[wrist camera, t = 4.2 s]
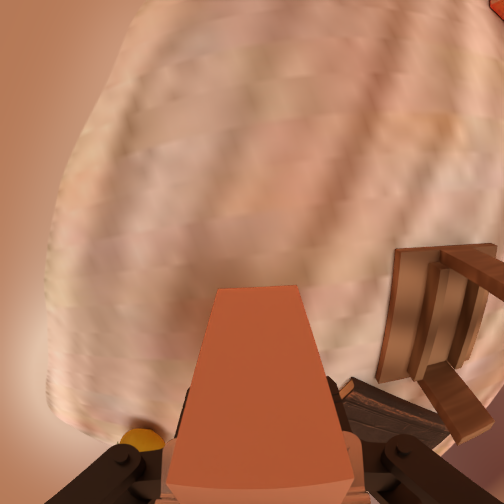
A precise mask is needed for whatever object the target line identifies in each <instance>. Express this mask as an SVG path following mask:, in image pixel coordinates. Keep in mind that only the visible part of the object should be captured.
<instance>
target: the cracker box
mask: <svg viewBox="0 0 504 504" xmlns="http://www.w3.org/2000/svg"><path fill="white" fill-rule="evenodd" d="M490 7H491V8H492V9H493V10H494V11H495V12H496V13H497V14H498V15H499V16H500V17H501V18H502V19H503V20H504V0H490Z"/></svg>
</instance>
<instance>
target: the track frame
mask: <svg viewBox="0 0 504 504" xmlns="http://www.w3.org/2000/svg"><path fill="white" fill-rule="evenodd" d="M496 252H497V245H495V244H492V243H484V244H469V245H452V246H436V247H420V248H403V249H395V261H394V272H393V281H392V289H391V297H390V304H389V311H388V317H387V323H386V329H385V335H384V340H383V345H382V350H381V355H380V359H379V364H378V368H377V373H376V377H375V378H376V380H377V382H378V384H380V383H385V382H390V381H394V380H399V379H403V378H407V377H411V378H412V380H413V381H414V382H415V381H417V382H418V384H419V385H420V387H421V388H422V390H423V391H424V393H425V394H426V396H427V397H428V399H429V400H430V402H431V404H432V405H433V407H434V408H435V410H436V411H437V413H438V415H439V416H440V418H441V419H442V421H443V423H444V424H445V426H446V427H447V429H448V431H449V432H450V434H451V436H452V437H453V439H454V441H455V442H456V444H457V446H458V445H460V444H462V443H464V442H466V441H468V440H470V439H472V438H474V437H476V436H478V435H480V434H482V433H484V432H485V431H487V430H489V429H490V428H491V427H492V425H493V424H494V422H495V421H494V419H493V418H492V417H491V416H490V414H489V413H488V411H487V410H486V409H485V408H484V406H483V405H482V404H481V402H480V401H479V400H478V399H477V397H476V396H475V395H474V394H473V392H472V391H471V390H470V389H469V387H468V386H467V385H466V384H465V382H464V381H463V380H462V379H461V378H460V376H459V375H458V374H457V373H456V372H455V370H454V369H458V368H461V367H462V365H463V362H464V361H466V360H469V358H470V355H471V352H472V349H473V346H474V344H475V341H476V338H477V334H478V331H479V328H480V325H481V321H482V318H483V314H484V310H485V307H486V303H487V299H488V294H489V292H490V293H491V294H493V295H494V296H496V297H497V298H499V299H500V300H502V301H503V302H504V262H502V261H500V260H498V259H495V258H496ZM451 366H452V367H453V368H454V369H453V368H452V367H451Z"/></svg>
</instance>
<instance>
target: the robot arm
mask: <svg viewBox="0 0 504 504" xmlns="http://www.w3.org/2000/svg"><path fill="white" fill-rule="evenodd" d="M326 378H327V382H328V385H329V388H330V392H331V395H332V398H333V402H334V405H335V409H336V412H337V416H338V419H339V423H340V426H341V430H342V433H343V437H344V440H345V444H346V448H347V451H348V455H349V459H350V462H351V466H352V470H353V474H354V478H355V479H354V480H353V482H352V484H351V486H350V488H349V490H348V492H347V494H346V496H345V497H344V499H343V501H342V503H341V504H371V501H370V495H369V493H370V494H371V495H372V496H373V497H374V498H375V499H376V500H377V501H378V502H379V503H380V504H504V503H502V502H501V501H499V500H498V499H497V498H495V497H494V496H492V495H491V494H490V493H488V492H487V491H485V490H484V489H483V488H481V487H480V486H478V485H477V484H476V483H474V482H473V481H471V480H470V479H469V478H468V477H466V476H465V475H464V474H462V473H461V472H460V471H458V470H457V469H456V468H454V467H453V466H452V465H451V464H449V463H448V462H447V461H445V460H444V459H443V458H441V457H440V456H439V455H438V454H436V453H435V452H434V451H433V450H431V449H430V448H429V447H427V446H426V445H425V444H424V443H422V442H421V441H420V440H419V439H417V438H416V437H414V436H412V435H409V434H399V435H396V436H394V437H392V438H391V439H389V440H388V442H387V443H379V442H367V441H364V440H361V439H359V438H358V437H357V436H356V435H355V434H353V432H352V430H351V428H350V424H349V421H348V418H347V415H346V412H345V409H344V406H343V402H342V399H341V396H340V395H339V390H338V387H337V384H336V383H335V382H334V381H333V380H332V379H331V378H330V377H329V376H326ZM189 390H190V387H189V389H188V390H187V393H186V397H185V401H184V404H183V409H182V411H181V415H180V419H179V422H178V426H177V430H176V434H175V437H174V439H172V440H170V441H169V442H167V444H166V445H165V446H164V448H161V449H158V450H152V451H143V452H139V451H138V450H137V448H135V447H134V446H132V445H129V444H116V445H114V446H112V447H110V448H109V449H108V450H107V451H106V452H105V453H103V454H102V455H101V456H100V457H99V458H98V459H97V460H96V461H94V462H93V463H92V464H91V465H90V466H89V467H88V468H87V469H85V470H84V471H83V472H82V473H81V474H79V476H77V477H76V478H75V479H74V480H72V481H71V482H70V483H69V484H68V485H67V486H65V487H64V488H63V489H62V490H60V491H59V492H58V493H57V494H56V495H54V496H53V497H52V498H51V499H49V500H48V501H47V502H46V503H44V504H180V503H179V501H178V500H177V499H176V497H175V496H174V495H173V493H172V492H171V490H170V489H169V487H168V486H167V485H166V480H167V476H168V472H169V467H170V463H171V459H172V455H173V451H174V447H175V444H176V440H177V436H178V432H179V428H180V424H181V420H182V416H183V413H184V409H185V405H186V401H187V398H188V394H189ZM366 491H368V492H369V493H368V492H366Z"/></svg>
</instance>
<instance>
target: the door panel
mask: <svg viewBox="0 0 504 504" xmlns="http://www.w3.org/2000/svg"><path fill="white" fill-rule="evenodd" d="M354 479H355V478H354V474H353V470H352V466H351V462H350V459H349V455H348V451H347V448H346V444H345V440H344V437H343V433H342V430H341V426H340V423H339V419H338V416H337V412H336V409H335V405H334V402H333V398H332V395H331V392H330V388H329V385H328V382H327V378H326V375H325V372H324V368H323V365H322V362H321V359H320V356H319V352H318V349H317V346H316V343H315V340H314V336H313V333H312V330H311V327H310V324H309V321H308V318H307V315H306V312H305V309H304V306H303V302H302V299H301V296H300V293H299V290H298V287H297V285H289V286H270V287H250V288H226V289H218V291H217V294H216V298H215V301H214V304H213V308H212V311H211V315H210V318H209V322H208V325H207V329H206V332H205V336H204V339H203V343H202V346H201V350H200V354H199V357H198V361H197V364H196V368H195V372H194V375H193V379H192V383H191V386H190V390H189V394H188V398H187V401H186V405H185V409H184V413H183V416H182V420H181V424H180V428H179V432H178V436H177V440H176V444H175V447H174V451H173V455H172V459H171V463H170V467H169V472H168V476H167V480H166V485H167V486H168V487H169V489H170V490H171V492H172V493H173V495H174V496H175V497H176V499H177V500H178V501H179V503H180V504H341V503H342V501H343V499H344V497H345V496H346V494H347V492H348V490H349V488H350V486H351V484H352V482H353V480H354Z"/></svg>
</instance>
